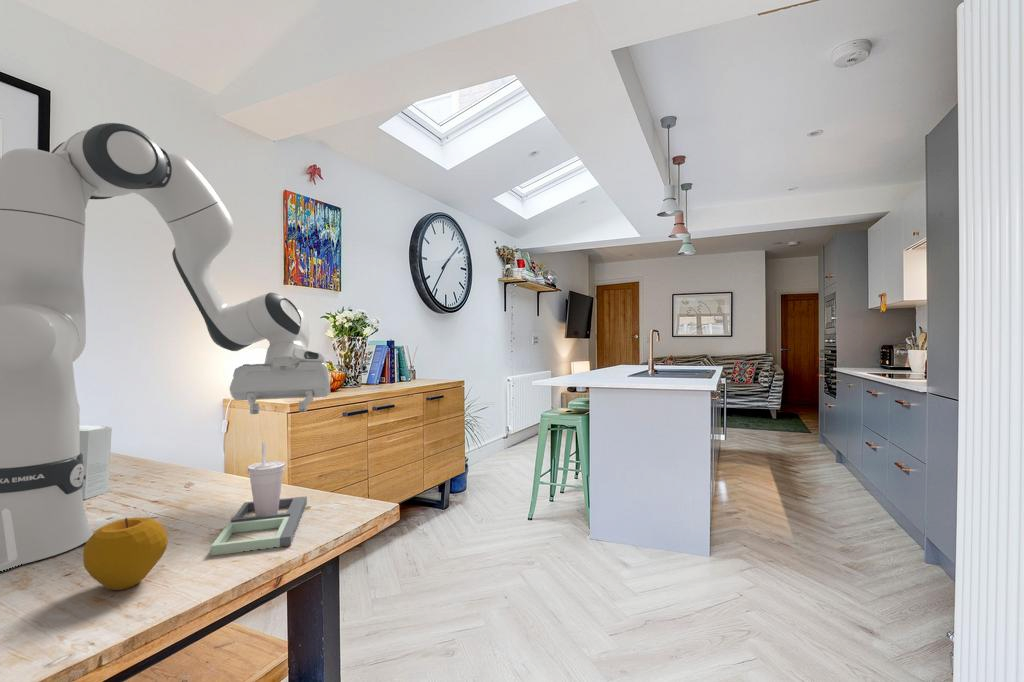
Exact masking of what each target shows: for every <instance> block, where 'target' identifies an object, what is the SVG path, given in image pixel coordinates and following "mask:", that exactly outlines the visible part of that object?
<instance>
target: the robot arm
mask: <svg viewBox="0 0 1024 682" xmlns="http://www.w3.org/2000/svg"><path fill="white" fill-rule="evenodd" d="M130 194H136V195H138V196H141V197H142V198H144V199H145V200H146V201H147V202H148V203H150V204H151V205H152V206H153V207H154V208H155V209H156V211H157V212H158V214H159V216H160V217H161V218H162V219H163V221H164V223H165V224H166V225H167V227H168V228H169V230H170V232H171V234H172V237H173V240H174V248H173V250H172V254H171V255H172V256H171V257H172V260H173V262H174V264H175V265H174V266H175V268H176V269H177V271H178V273H179V275H180V278H181V280H182V281H183V283H184V285H185V286H186V289H187V290H188V292H189V294H190V296H191V298H192V300H193V301H194V303H195V305H196V307H197V310H198V311H199V313H200V314H201V316H202V318H203V319H204V320H203V321H204V323H205V325H206V329H207V332H208V333H209V334H208V335H209V336H210V338H211V339H212V341H213V343H214V344H215V345H217V346H218V347H220V348H223V349H225V350H228V351H231V352H238V351H241V350H242V349H245V348H247V347H248V346H251V345H252V344H256V343H258V342H262V341H264V340H267V341H268V343H269V345H268V348H267V350H266V354H265V359H264V363H253V364H250V363H246V364H242V365H240V366H238V367H236V368H235V369H234V370H233V375H232V377H233V379H232V380H231V383H230V385H229V393H230V396H231V398H233V400H234V401H247V403H248V405H249V414H250V415H258V414H260V409H261V407H260V404H259V402H256V401H257V400H278V399H279V400H281V399H282V400H283V399H284V400H285V399H302V398H303V400H299V402H298V413H299V412H300V413H305V412H307V411H308V410H307V409H308V407H309V405H310V404H311V403H312V401H313V400H314V398H326V397H328V396H329V395H330V394H331V380H330V373H329V368H328V366H327V364H326V358H325V355H324V354H323V353H321V352H316V351H312V350H308V348H309V343H310V325H309V321H308V318H307V315H305V313H304V312H303V311H302V310H300V309H298V308H297V307H296V305H294V303H293V302H292V301H291V300H289V299H288V298H286V297H284V296H283V295H281V294H279V293H275V292H267V293H265V294H262V295H261V294H260V295H258V296H256V297H253V298H251V299H249V300H246V301H243V302H240V303H237V304H234V305H229V304H227V303H226V302H225V301H224V298H223V296H222V295H221V293H220V291H219V289H218V287H217V285H216V284H215V280H214V279H213V277H212V275H211V271H210V268H211V267H210V266H211V264H212V262H213V261H214V260H215V259H216V257H218V256H219V255H220V253H221V252H223V250H224V249H226V247H227V246H228V245H229V244H230V242H231V240H232V238H233V234H234V232H235V231H234V229H235V227H234V225H235V224H234V221H233V218H232V215H231V214H230V212H229V210H228V209H227V207H226V206H225V204H224V203H223V201H222V200H221V198H220V196H219V195H218V194H217V193H216V191H215V189H214V188H213V186H212V185H211V184H210V183H209V182H208V180H207V179H206V178H205V177H204V175H203V174H202V173H201V172H200V171H199V170H198V169H197V168H196V166H195V165H193V163H192V162H191V161H190V160H189V159H188V158H186V157H184V156H183V155H180V154H176V153H167V151H165V149H164V148H162V147H160V146H159V145H158V144H157V143H156V142H155V141H154V140H153V139H152V138H151V137H149V136H148V135H147V134H145V133H144V132H143V131H141V130H139V129H138V128H136V127H134V126H131V125H128V124H124V123H118V122H105V123H100V124H96V125H95V126H92V127H91V128H89V129H85V130H80V131H79V132H76V133H75V134H73V135H72V136H70V137H68V138H67V140H65V141H64V142H61V143H60V144H58V145H57V146H55V148H54V149H53V150H52V151H51V152H49V151H47V150H46V151H45V150H41V149H37V148H27V147H26V148H15V149H10V150H9V151H7V152H4V153H3V154H2V156H0V571H2V572H4V571H3V570H5V571H7V570H6V569H8V570H10V569H9V568H11V569H13V568H16V567H18V565H19V566H21V564H22V565H26V564H28V563H32V562H36V561H39V560H40V561H41V560H43V559H47V558H50V557H53V556H57V555H60V554H62V553H65V552H68V551H70V550H72V549H74V548H77V547H79V546H82V545H83V544H84V543H85V544H86V543H87V541H88V540H89V538H90V537H91V536H92V535H93V534H94V532H93V531H92V528H91V526H90V523H89V520H88V517H87V513H86V510H85V504H84V500H83V497H82V489H81V488H82V486H83V478H84V467H83V454H81V453H80V426H81V423H80V422H81V421H80V404H79V401H78V395H77V387H76V382H75V381H76V380H75V373H74V372H75V371H74V364H73V363H74V362H75V361H76V360H77V359H78V358H80V356H81V355H82V353H83V352H84V350H85V347H86V340H87V336H86V335H87V325H86V323H87V322H86V299H85V287H84V286H85V285H84V259H85V241H86V240H85V239H86V238H85V236H86V209H87V206H88V203H89V200H107V199H111V198H114V197H120V196H123V197H124V196H126V195H130ZM15 566H16V567H15ZM12 567H13V568H12Z"/></svg>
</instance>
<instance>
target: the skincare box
mask: <svg viewBox="0 0 1024 682" xmlns="http://www.w3.org/2000/svg"><path fill="white" fill-rule="evenodd" d="M112 430H113V427H112V426H104V425H102V426H101V425H80V453H81V454H83V467H84V478H83V486H82V488H81V489H82V497H83V501H84V500H87V499H91V498H94V497H97V496H101V495H103V494H106V493H109V491H110V489H109V487H110V468H111V454H112V453H111V450H112V434H113V433H112Z"/></svg>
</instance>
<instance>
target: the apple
mask: <svg viewBox="0 0 1024 682" xmlns="http://www.w3.org/2000/svg"><path fill="white" fill-rule="evenodd" d="M168 544H169V539H168V533H167V531H166V529H165V528H164V527H163V525H162V524H161V523H160V522H159V521H157V520H156V519H154V518H149V517H125V518H123V519H118V520H115V521H112V522H110V523H109V522H108V523H107V524H105V525H103V526H102V527H100V528H98V529H97V530H95V531H94V532H93V535H92V536H91V537H90V538H89V540H88V541H86V542H85V545H84V547H83V555H82V556H83V560H82V561H83V566H84V569H85V570H86V572H87V573H88V574H89V576H90V577H91V578H93V579H94V580H95V581H96V582H97V583H99V584H100V585H102V586H103V587H105V588H106V589H108V590H113V591H123V590H127V589H130V588H132V587H134V586H136V585H137V584H138V583H140V582H141V581H142V580H144V579H145V578H146V577H147V576H148V574H149V573H150V572H151V571H152V570H153V568H154V567H155V566H156V564H157V563H158V562H159V561H160V560H161V558H162V557H163V556H164V554H165V552H166V551H167V548H168Z"/></svg>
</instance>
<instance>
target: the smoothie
mask: <svg viewBox="0 0 1024 682" xmlns="http://www.w3.org/2000/svg"><path fill="white" fill-rule="evenodd" d="M261 446H262V448H261V449H262V450H261V455H262V458H261V461H259V462H256V463H252V464H249V465H248V466H247V472H246V473H247V474H249V479H250V487H251V493H252V494H251V495H252V500H253V501H252V502H254V509H255V510H254V512H255V513H254V516H260V515H270V514H279V509H280V508H279V500H280V499H281V491H282V484H283V475H284V470H285V469H286V462H285V461H282V460H266V455H267V454H266V453H267V452H266V451H267V450H266V447H267V445H266V441H265V442H262V443H261Z"/></svg>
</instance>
